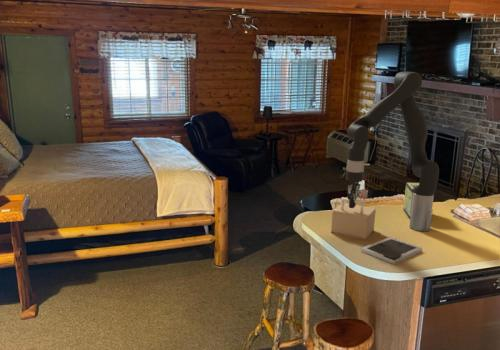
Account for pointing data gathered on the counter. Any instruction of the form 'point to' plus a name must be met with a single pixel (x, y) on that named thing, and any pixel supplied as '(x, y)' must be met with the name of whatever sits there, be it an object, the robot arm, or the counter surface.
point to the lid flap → (354, 209)
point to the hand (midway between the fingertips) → (352, 207)
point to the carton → (352, 225)
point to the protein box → (409, 197)
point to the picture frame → (391, 250)
